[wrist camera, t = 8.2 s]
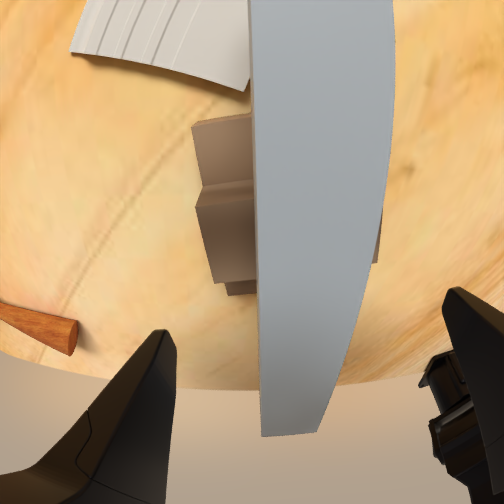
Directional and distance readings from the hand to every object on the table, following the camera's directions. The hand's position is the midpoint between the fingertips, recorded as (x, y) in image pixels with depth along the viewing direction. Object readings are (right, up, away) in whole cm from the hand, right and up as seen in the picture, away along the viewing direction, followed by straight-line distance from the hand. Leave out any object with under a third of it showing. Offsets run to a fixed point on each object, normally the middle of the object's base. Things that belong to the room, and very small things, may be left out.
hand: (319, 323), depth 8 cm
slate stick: (0, +3, +4) cm, 5 cm away
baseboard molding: (-2, +25, -3) cm, 25 cm away
